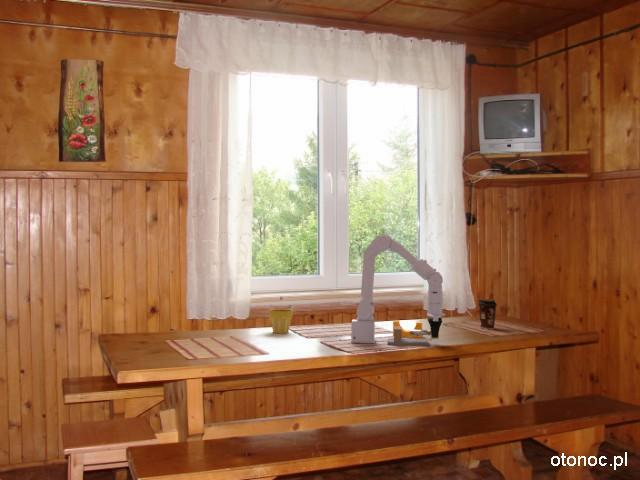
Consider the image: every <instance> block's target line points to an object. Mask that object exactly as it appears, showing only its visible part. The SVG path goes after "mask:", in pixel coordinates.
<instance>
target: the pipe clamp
mask: <svg viewBox="0 0 640 480" xmlns="http://www.w3.org/2000/svg"><path fill="white" fill-rule="evenodd" d="M394 326H401V324H400V320H393V321H392V337H394ZM410 330H411V329H410ZM410 330H409V329H408V330H405V329H404V328H403V327H402V338H410V339H423V337H424V335H410ZM412 330H424V329H423V322H422V321H416V323H415V326H414V329H412Z"/></svg>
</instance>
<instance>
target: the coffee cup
mask: <svg viewBox="0 0 640 480" xmlns="http://www.w3.org/2000/svg"><path fill="white" fill-rule="evenodd" d="M497 305H498V304H497V302H496V301H495V300H494V299H487V298H483V299H479V300H478V306H479V310H478V316H479V321H480V325H479V326H480V327H479V328H480V329H482V328H485V329H484V330H494V329H495V321H496V311H497ZM493 328H494V329H493Z"/></svg>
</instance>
